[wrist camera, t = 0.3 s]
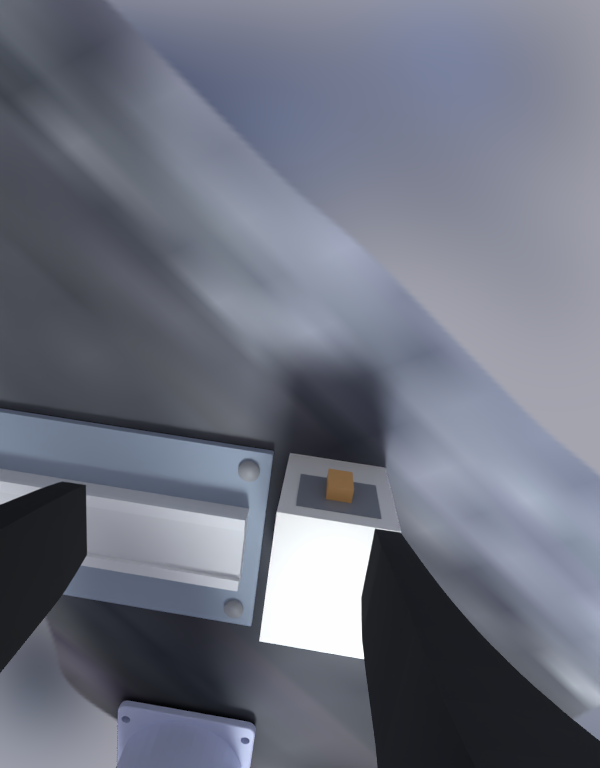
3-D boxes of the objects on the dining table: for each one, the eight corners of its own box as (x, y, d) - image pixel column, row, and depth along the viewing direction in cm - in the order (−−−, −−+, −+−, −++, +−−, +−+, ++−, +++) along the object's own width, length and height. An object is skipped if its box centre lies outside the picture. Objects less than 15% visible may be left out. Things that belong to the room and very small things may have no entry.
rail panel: (252, 620, 23) (241, 671, 21) (-159, 550, 24) (-226, 590, 21) (274, 450, 20) (264, 482, 18) (-195, 378, 21) (-277, 397, 18)
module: (363, 572, 22) (371, 660, 17) (275, 558, 22) (259, 641, 18) (388, 454, 20) (404, 516, 15) (292, 439, 20) (278, 496, 16)
